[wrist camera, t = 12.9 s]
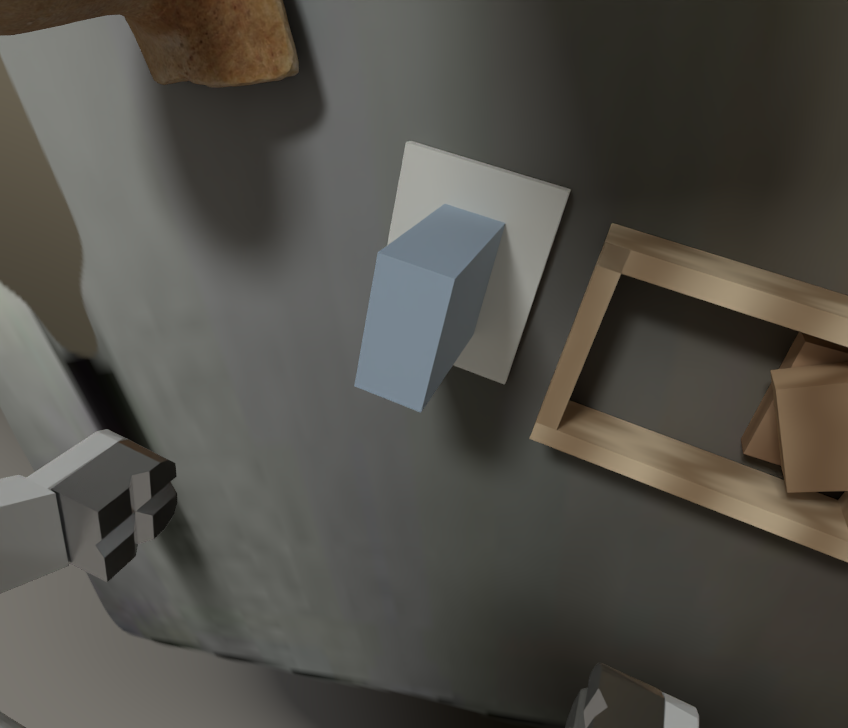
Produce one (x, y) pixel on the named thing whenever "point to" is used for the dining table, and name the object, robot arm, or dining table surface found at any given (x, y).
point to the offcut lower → (763, 426)
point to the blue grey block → (426, 304)
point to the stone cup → (182, 35)
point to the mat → (518, 250)
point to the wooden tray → (671, 459)
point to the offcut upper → (812, 426)
